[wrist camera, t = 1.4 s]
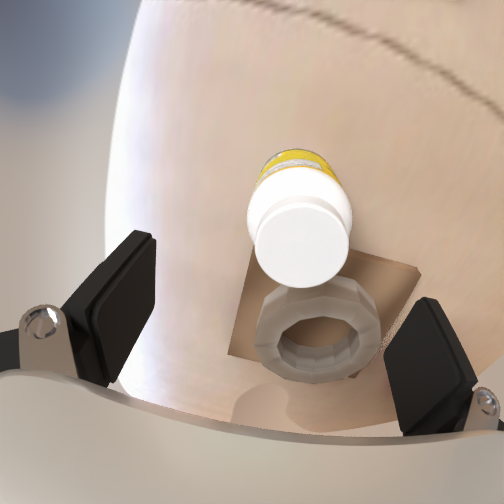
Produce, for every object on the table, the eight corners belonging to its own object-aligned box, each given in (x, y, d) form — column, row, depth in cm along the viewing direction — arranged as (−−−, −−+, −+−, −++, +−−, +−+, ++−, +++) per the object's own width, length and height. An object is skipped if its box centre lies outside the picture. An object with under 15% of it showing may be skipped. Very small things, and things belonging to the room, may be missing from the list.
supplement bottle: (334, 217, 21) (357, 301, 13) (262, 218, 22) (242, 302, 14) (335, 145, 19) (370, 187, 10) (256, 147, 20) (228, 190, 11)
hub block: (416, 267, 22) (433, 297, 19) (353, 369, 30) (357, 400, 26) (258, 225, 23) (251, 253, 19) (229, 346, 30) (221, 377, 26)
